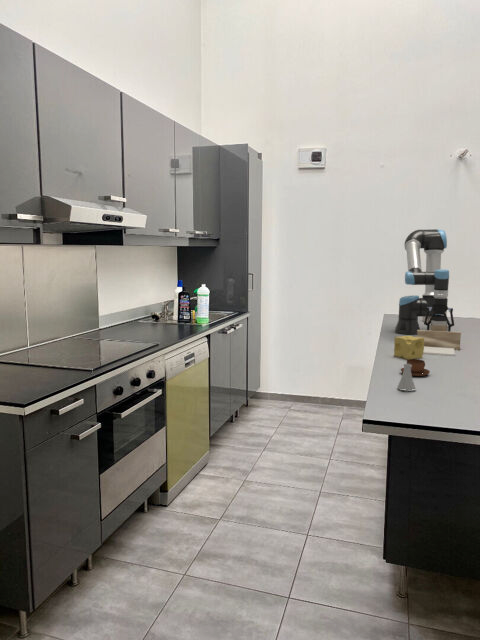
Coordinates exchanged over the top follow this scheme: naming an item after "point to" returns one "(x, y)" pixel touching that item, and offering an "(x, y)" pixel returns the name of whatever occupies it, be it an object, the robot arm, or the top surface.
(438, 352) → the display pad
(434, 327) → the coffee cup
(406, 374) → the flask
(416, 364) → the cup and saucer
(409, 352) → the cheese
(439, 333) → the wooden screen
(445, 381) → the top surface
